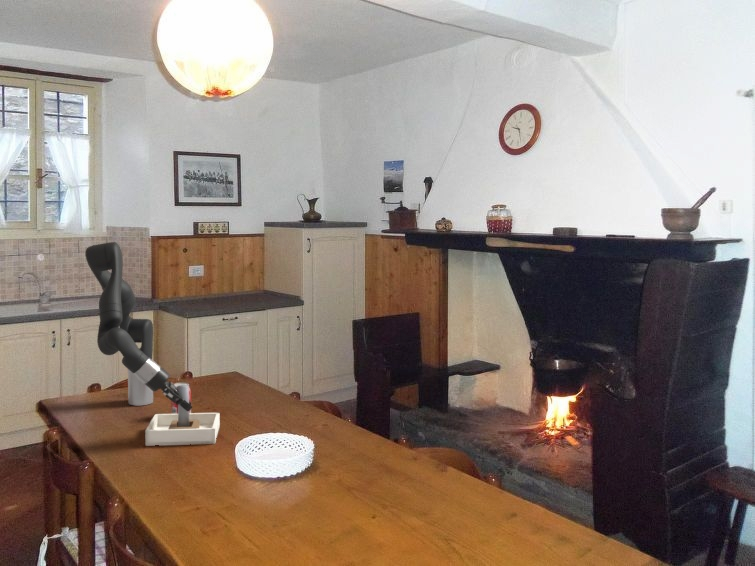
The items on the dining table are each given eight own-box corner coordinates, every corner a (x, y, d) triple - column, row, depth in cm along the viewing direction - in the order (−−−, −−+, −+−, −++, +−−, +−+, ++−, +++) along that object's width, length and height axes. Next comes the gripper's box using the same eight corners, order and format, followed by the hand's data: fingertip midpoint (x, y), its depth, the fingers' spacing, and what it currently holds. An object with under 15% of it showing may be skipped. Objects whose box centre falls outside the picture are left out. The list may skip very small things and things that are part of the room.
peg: (179, 425, 235) (178, 384, 234) (189, 424, 236) (189, 384, 234) (177, 428, 232) (177, 387, 230) (188, 428, 232) (188, 387, 231)
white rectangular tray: (155, 428, 242) (155, 414, 241) (219, 426, 245) (219, 412, 244) (145, 445, 224) (145, 430, 224) (215, 443, 227) (214, 428, 227)
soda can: (194, 413, 259) (193, 382, 257) (187, 419, 252) (186, 387, 250) (175, 413, 259) (175, 381, 258) (168, 418, 252) (167, 386, 251)
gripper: (160, 370, 223) (199, 405, 228) (159, 361, 236) (196, 393, 241) (142, 388, 222) (182, 422, 227) (143, 377, 235) (181, 409, 240)
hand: (189, 407), depth 234 cm, fingers closed on peg, 3 cm apart
